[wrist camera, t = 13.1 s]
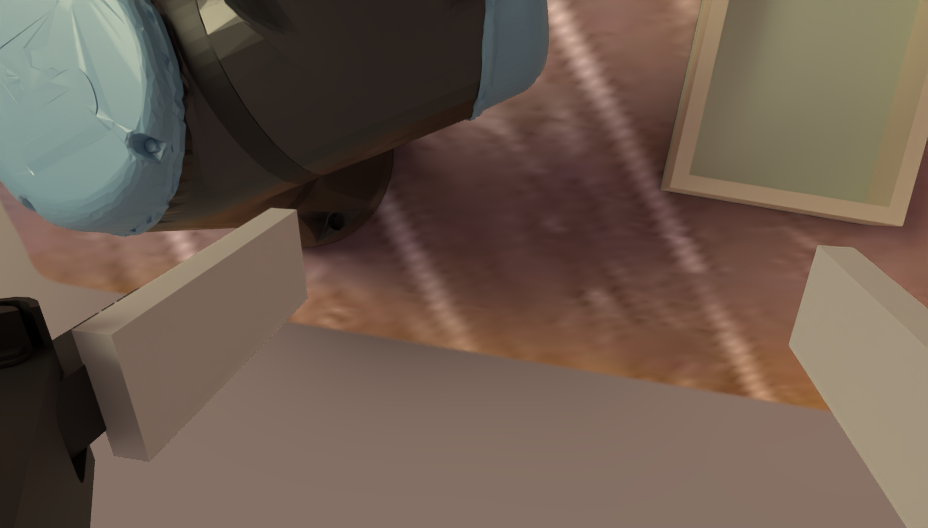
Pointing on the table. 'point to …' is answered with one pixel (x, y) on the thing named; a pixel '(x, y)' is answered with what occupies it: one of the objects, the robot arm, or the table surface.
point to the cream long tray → (805, 107)
